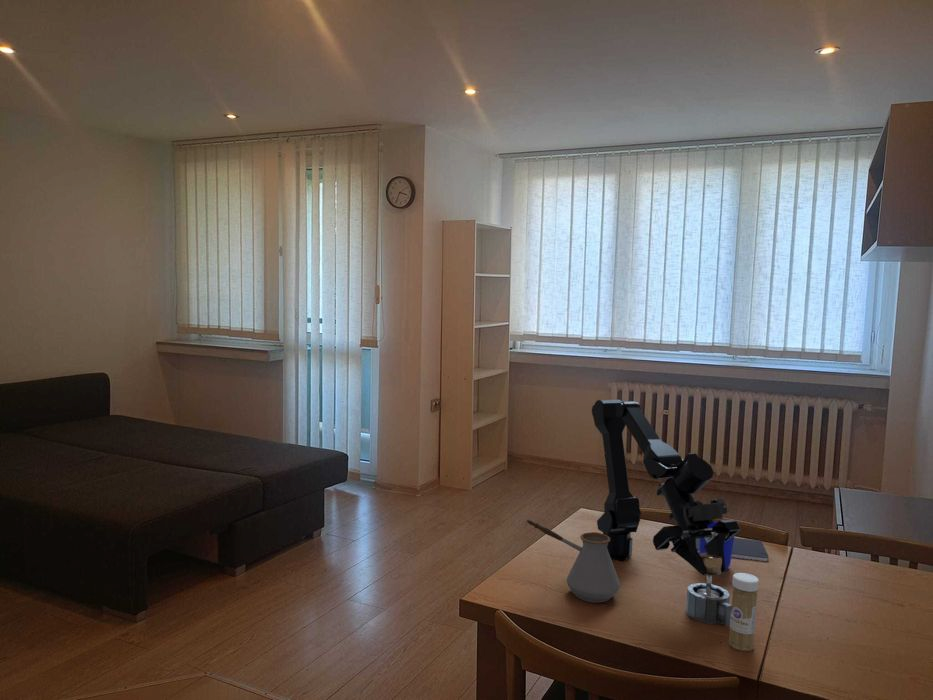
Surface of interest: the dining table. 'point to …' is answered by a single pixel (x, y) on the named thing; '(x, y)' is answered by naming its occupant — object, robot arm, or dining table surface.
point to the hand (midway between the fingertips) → (714, 573)
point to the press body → (708, 605)
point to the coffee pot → (590, 567)
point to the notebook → (745, 549)
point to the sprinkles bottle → (743, 611)
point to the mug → (727, 548)
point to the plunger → (710, 573)
